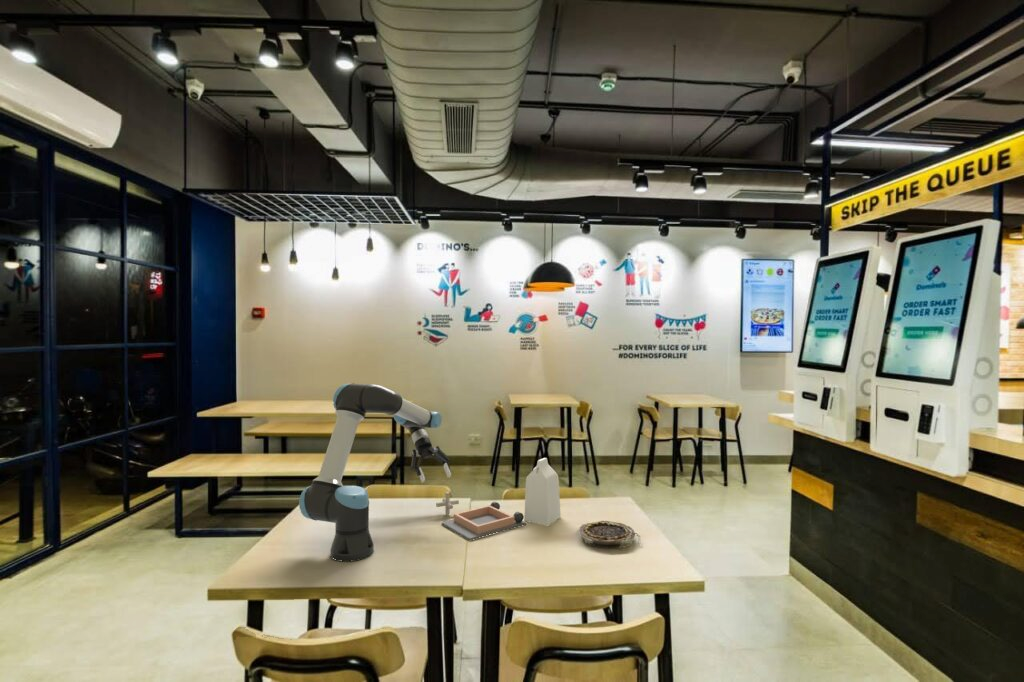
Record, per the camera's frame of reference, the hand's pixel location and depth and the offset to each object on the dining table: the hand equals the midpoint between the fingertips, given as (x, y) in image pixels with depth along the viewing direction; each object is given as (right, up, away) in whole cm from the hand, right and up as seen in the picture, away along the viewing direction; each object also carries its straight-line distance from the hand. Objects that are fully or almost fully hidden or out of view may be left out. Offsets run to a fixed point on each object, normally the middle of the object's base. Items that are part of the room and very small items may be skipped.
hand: (436, 478), depth 233 cm
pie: (+71, -15, -36) cm, 81 cm away
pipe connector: (+6, -14, -8) cm, 17 cm away
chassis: (+23, -14, -20) cm, 34 cm away
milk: (+48, -14, -14) cm, 52 cm away
